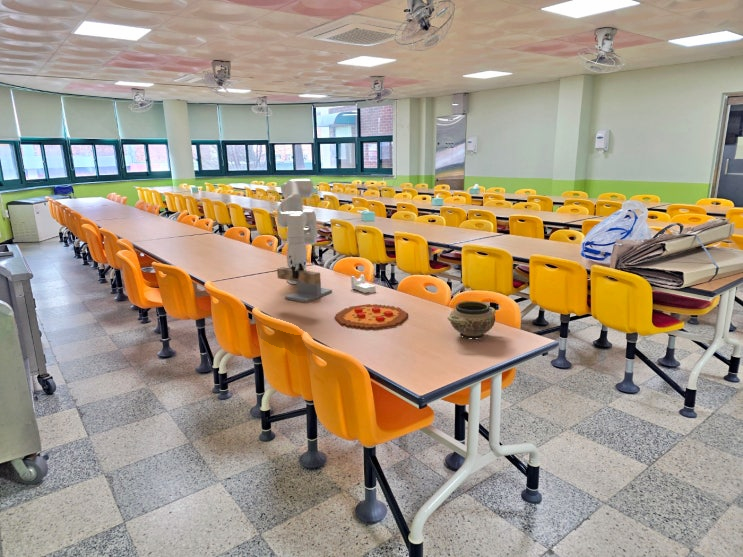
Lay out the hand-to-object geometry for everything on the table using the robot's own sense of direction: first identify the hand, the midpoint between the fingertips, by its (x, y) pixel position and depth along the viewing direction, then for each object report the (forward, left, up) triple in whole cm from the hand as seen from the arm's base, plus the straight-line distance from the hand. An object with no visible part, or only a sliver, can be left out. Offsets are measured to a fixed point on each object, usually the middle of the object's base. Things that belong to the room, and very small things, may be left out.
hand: (298, 276), depth 235 cm
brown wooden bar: (0, 0, -2) cm, 2 cm away
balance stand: (-9, +18, -15) cm, 25 cm away
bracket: (+11, +40, -16) cm, 45 cm away
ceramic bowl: (+87, +4, -15) cm, 89 cm away
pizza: (+39, +4, -16) cm, 42 cm away
